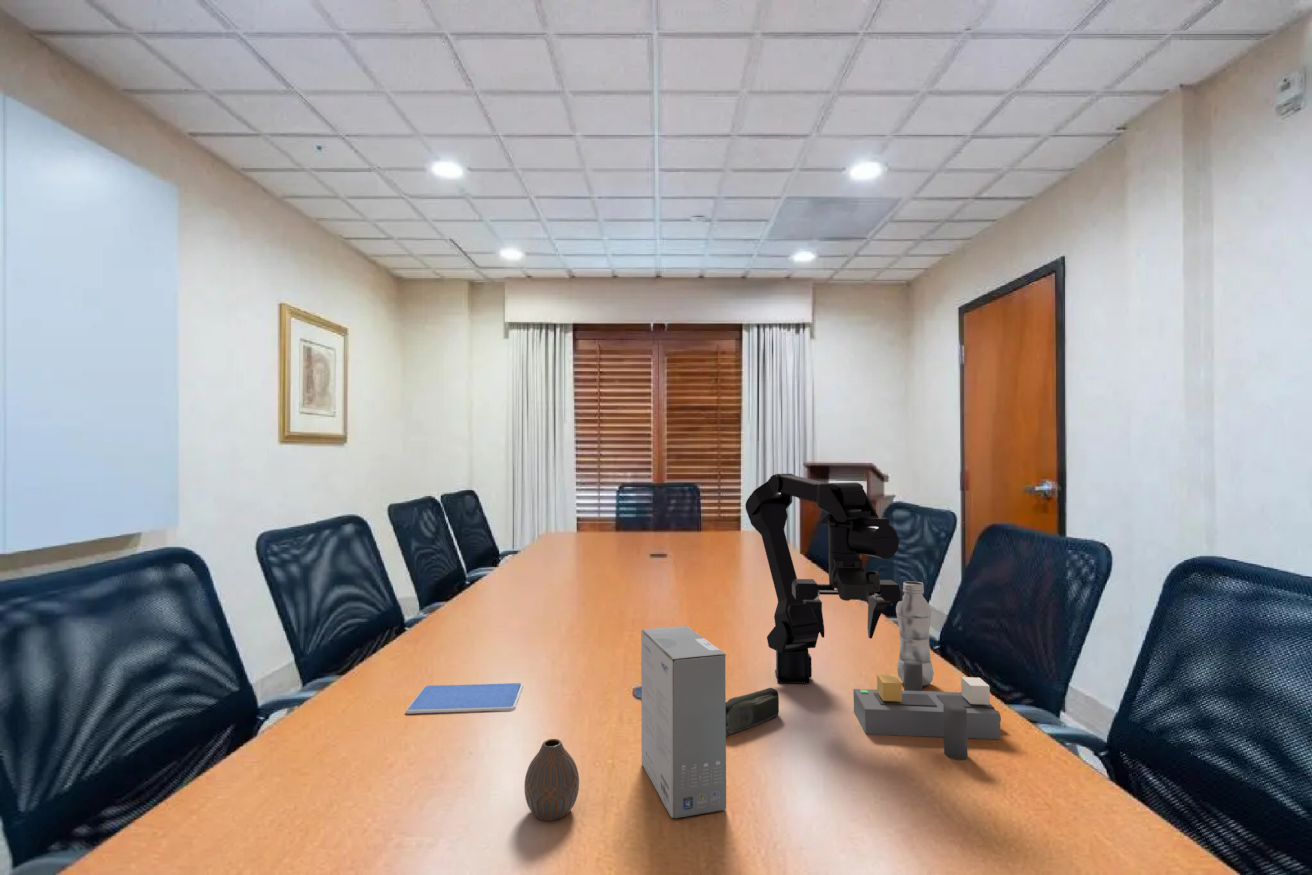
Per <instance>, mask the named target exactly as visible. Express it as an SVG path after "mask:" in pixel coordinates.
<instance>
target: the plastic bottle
mask: <svg viewBox="0 0 1312 875" xmlns="http://www.w3.org/2000/svg"><path fill="white" fill-rule="evenodd" d="M902 584H903V586H902V587H903V588H902V593H903V601H897V603H896V605H895V606H896V607H895V613H896V618H897V624H898V634H899V652H898V654H899V655H898V659H897V660H898V661H897V669H896V670H897V674H898V677H899V678H898V679H900V680H901V681H900V682H901V683H902V682H903V683H904V661H906V660H914V661H918V662H921V663H922V680H923V687H926V686H929V685H931V683H932V681H933V679H934V668H933V663H932V658H931V657H932V656H931V650H930V649H931V648H930V627H931V619H932V609H931V606H930V604H929V602H928V600H926V598H925V597H924V595H923V594H924V593H925V590H924V583H923V582H920V581H913V580H911V581H910V580H908V581H904V582H903V583H902Z"/></svg>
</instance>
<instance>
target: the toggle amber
mask: <svg viewBox="0 0 1312 875" xmlns="http://www.w3.org/2000/svg"><path fill="white" fill-rule="evenodd" d="M876 683H877V684H876V690H877V692H878V694H879V695H880V697H881V698H882V700H883V701H902V681H900V680H899V678H898V677H897V676H896V675H895V674H876Z"/></svg>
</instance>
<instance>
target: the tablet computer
mask: <svg viewBox="0 0 1312 875" xmlns="http://www.w3.org/2000/svg"><path fill="white" fill-rule="evenodd" d="M523 689H524V684H523V683H520V682H515V683H514V682H513V683H481V684H444V685H443V684H442V685H441V684H438V685H437V684H436V685H425V686H423V688H422V689H421V691H420V692H419V693H418V694H417V696H416V697H415V698H414V700H412V702H411V703H410V704H409V705H408V707H407V708H406V710H405V713H406V714H409V715H410V714H411V715H412V714H413V715H414V714H439V713H440V714H441V713H443V714H444V713H445V714H446V713H447V714H449V713H474V712H476V713H477V712H481V713H483V712H512V711H515V710H516V709H517V705H518V703H519V700H520V698H521V694H522V693H523Z"/></svg>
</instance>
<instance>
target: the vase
mask: <svg viewBox="0 0 1312 875" xmlns="http://www.w3.org/2000/svg"><path fill="white" fill-rule="evenodd" d="M523 788H524V797H525V798H524V799H525V801H526V804H527V806H528V807H527V808H528V809H529V811H530V812H531V813H532V814H533V815H534V816H535V817H536V818H538V819H539V820H541V821H546V822H549V821H550V822H551V821H552V822H553V821H557V820H560V819H562V818H564V817H566V815H568V813H569V812H571V810H572V809H573V807H574V806H575V803H576V801H577V798H578V794H579V790H580V776H579V771H578V767H577V764H576V762H575V760H574V759H573V757H572V756H571V755H570V753H569V752H568V750H567V749H565V747H564V745H563V742H562V741H561V740H560V739H558V738H549V739H546V740H545V741H543V742H542V744H541V746H540V749H539V751H538V752H537V753H536V754H535V755H534V757H533V759H532V760H531V761H530V762H529V766H528V767H527V771H526V774H525V778H524V787H523Z"/></svg>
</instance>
